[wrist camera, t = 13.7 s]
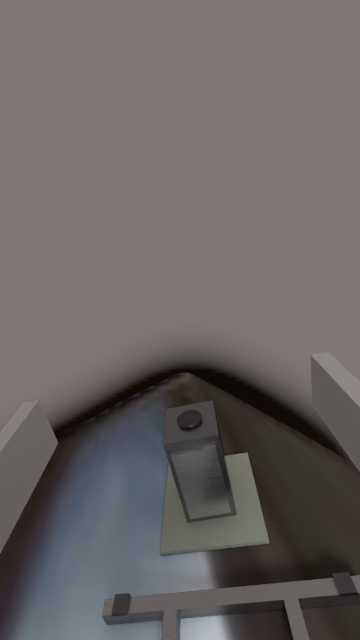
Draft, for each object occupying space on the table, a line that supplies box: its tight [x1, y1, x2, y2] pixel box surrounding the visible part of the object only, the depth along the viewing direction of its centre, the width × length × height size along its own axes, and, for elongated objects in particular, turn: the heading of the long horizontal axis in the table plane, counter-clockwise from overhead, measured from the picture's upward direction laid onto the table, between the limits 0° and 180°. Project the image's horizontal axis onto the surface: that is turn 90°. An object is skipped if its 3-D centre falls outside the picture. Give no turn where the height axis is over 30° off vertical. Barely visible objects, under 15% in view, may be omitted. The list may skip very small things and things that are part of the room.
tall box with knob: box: [163, 400, 237, 523], centre depth 28 cm, size 5×6×10 cm
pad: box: [160, 453, 269, 555], centre depth 30 cm, size 10×10×1 cm
